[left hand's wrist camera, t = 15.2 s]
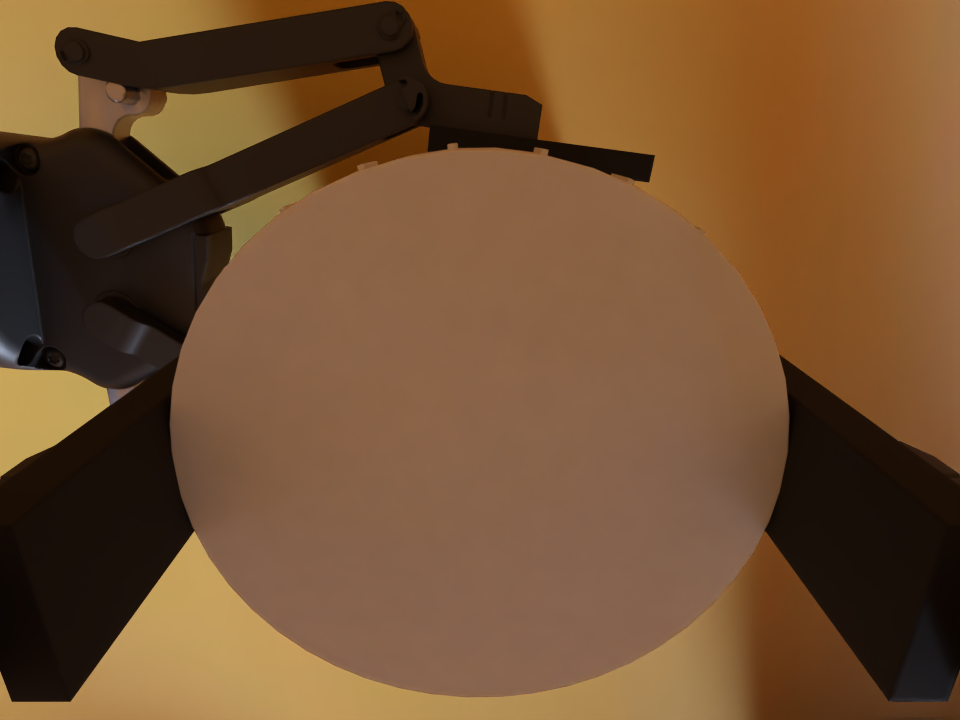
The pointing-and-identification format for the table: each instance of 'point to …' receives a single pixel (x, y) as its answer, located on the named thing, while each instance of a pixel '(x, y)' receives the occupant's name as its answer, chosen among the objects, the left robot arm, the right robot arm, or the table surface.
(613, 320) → the lid
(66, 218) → the right robot arm
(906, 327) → the table surface
